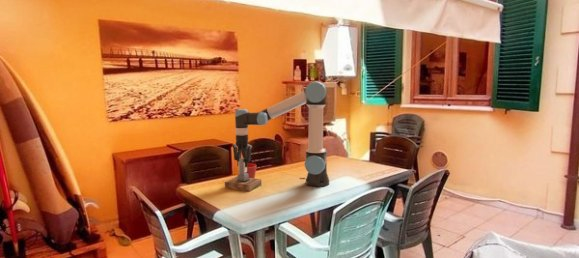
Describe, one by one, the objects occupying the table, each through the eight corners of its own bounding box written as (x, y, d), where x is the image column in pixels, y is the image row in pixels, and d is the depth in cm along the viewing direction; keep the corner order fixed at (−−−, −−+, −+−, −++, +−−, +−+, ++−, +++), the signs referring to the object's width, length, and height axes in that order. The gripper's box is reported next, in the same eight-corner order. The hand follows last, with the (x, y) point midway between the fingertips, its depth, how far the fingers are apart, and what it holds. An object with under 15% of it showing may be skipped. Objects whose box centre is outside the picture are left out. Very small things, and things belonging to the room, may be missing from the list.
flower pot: (254, 181, 226) (253, 167, 225) (238, 181, 229) (237, 166, 227) (258, 177, 237) (258, 163, 235) (243, 176, 239) (243, 163, 238)
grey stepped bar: (248, 179, 216) (248, 157, 215) (244, 181, 212) (243, 159, 210) (241, 178, 218) (241, 157, 217) (237, 180, 214) (236, 158, 212)
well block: (261, 185, 218) (261, 179, 218) (249, 191, 206) (249, 185, 205) (237, 182, 226) (237, 176, 225) (224, 188, 213) (224, 181, 213)
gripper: (256, 134, 211) (257, 171, 214) (234, 132, 218) (235, 169, 221) (249, 136, 205) (250, 174, 208) (227, 134, 212) (228, 171, 215)
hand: (242, 171), depth 214 cm, fingers closed on grey stepped bar, 3 cm apart
